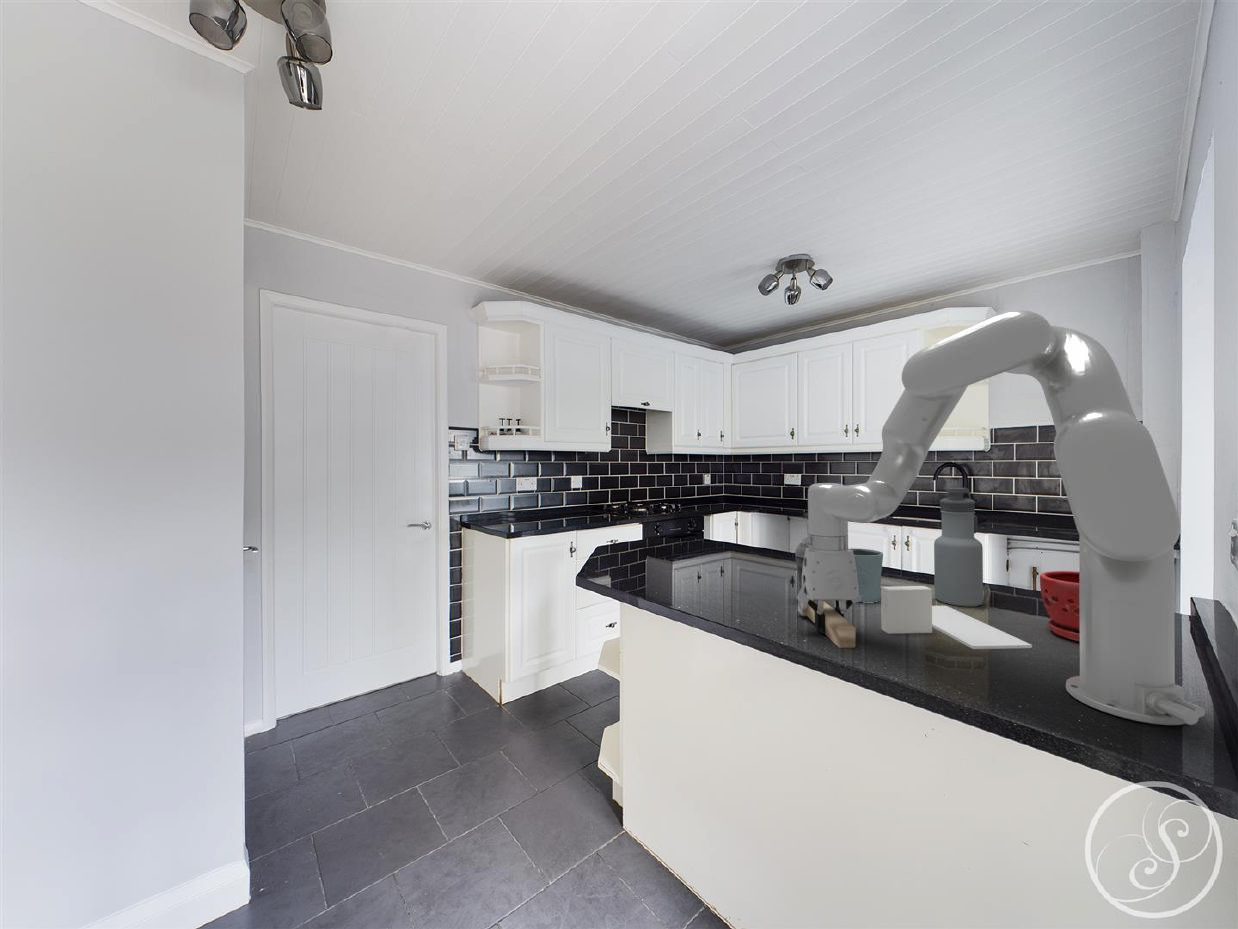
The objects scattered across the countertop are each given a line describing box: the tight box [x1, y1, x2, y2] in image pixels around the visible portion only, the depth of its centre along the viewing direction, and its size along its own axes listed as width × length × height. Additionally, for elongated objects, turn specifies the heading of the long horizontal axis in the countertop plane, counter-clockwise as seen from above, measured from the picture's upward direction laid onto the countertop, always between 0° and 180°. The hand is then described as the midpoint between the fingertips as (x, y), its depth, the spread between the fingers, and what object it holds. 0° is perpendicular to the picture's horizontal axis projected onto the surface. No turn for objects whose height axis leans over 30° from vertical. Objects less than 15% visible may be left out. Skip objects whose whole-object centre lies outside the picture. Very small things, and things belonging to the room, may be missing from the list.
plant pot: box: [1039, 570, 1080, 643], centre depth 95 cm, size 13×13×12 cm
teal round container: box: [849, 547, 884, 602], centre depth 123 cm, size 10×10×12 cm
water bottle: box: [933, 486, 984, 608], centre depth 119 cm, size 10×10×28 cm
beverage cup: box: [794, 522, 809, 591], centre depth 120 cm, size 7×7×20 cm
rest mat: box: [932, 605, 1033, 650], centre depth 102 cm, size 24×11×1 cm, turn 0°
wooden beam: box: [797, 595, 857, 649], centre depth 102 cm, size 19×5×4 cm, turn 0°
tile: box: [880, 585, 933, 635], centre depth 100 cm, size 3×9×9 cm, turn 90°
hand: (829, 630), depth 100 cm, fingers closed on wooden beam, 2 cm apart
